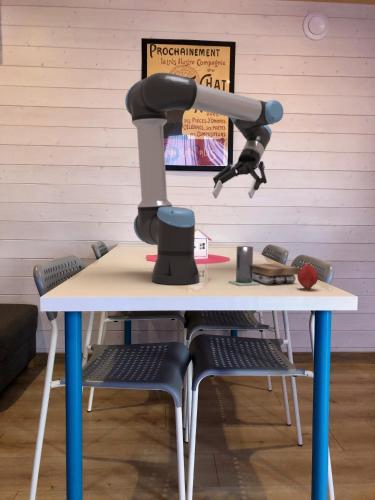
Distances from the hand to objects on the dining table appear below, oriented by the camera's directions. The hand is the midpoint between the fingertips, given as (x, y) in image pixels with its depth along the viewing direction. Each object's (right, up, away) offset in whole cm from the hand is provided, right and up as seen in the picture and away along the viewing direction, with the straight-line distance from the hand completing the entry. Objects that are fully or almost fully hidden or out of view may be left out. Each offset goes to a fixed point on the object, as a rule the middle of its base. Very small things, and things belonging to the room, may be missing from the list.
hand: (231, 195), depth 157 cm
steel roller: (+2, -29, -15) cm, 33 cm away
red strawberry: (+20, -31, -24) cm, 44 cm away
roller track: (+12, -29, -11) cm, 33 cm away
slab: (+12, -26, -12) cm, 31 cm away
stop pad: (+2, -29, -15) cm, 33 cm away
